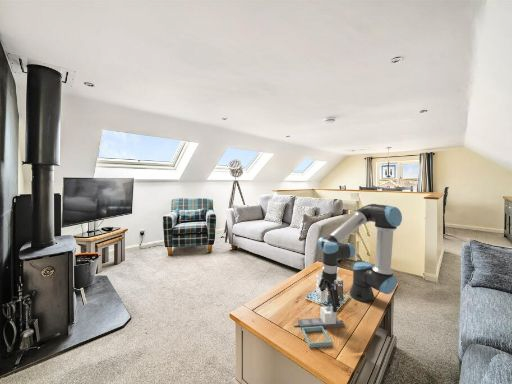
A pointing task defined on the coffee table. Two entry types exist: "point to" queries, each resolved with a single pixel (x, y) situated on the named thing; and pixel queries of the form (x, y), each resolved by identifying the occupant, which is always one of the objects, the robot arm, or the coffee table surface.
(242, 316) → the coffee table surface
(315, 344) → the teal square frame
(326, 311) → the charger
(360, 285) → the robot arm
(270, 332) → the coffee table surface
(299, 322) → the power strip
